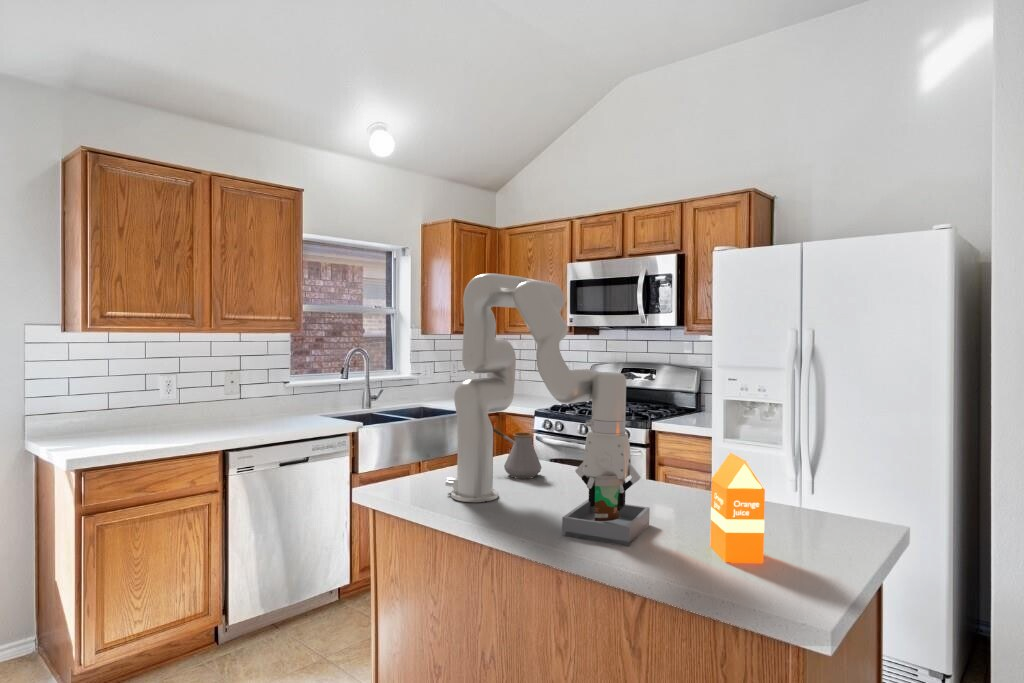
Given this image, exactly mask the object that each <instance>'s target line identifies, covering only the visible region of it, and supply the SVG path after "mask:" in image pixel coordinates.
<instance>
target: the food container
mask: <svg viewBox="0 0 1024 683" xmlns="http://www.w3.org/2000/svg"><path fill="white" fill-rule="evenodd" d="M625 481H626V480H625ZM625 481H624V480H621V481H619V480H618V479H617V476H595V516H594V521H612V520H616V519H617V518H618V516H619V511H618V510H617V505H618V494H619V493H620V492H619V488H620V485H621V484H624V483H625Z"/></svg>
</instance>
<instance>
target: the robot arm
mask: <svg viewBox="0 0 1024 683" xmlns="http://www.w3.org/2000/svg"><path fill="white" fill-rule="evenodd" d="M462 298H463V299H462V300H463V301H462V306H463V319H464V320H463V324H464V325H463V334H462V335H463V336H462V337H463V339H462V353H461V355H462V356H461V358H462V360H461V362H462V366H463V368H464V370H465V371H466V372H468V373H471V374H480V375H481V374H482V375H483V374H486V375H487V376H486V377H480V378H477V377H476V378H469V379H466V380H464V381H462V382H460V383H459V384H458V385H457V387H456V388H455V390H454V395H453V396H454V397H453V401H454V407H455V411H456V412H455V413H456V420H457V421H456V422H457V462H456V464H457V466H456V467H457V468H456V469H457V470H456V471H457V472H456V475H457V476H456V477H457V478H453V477H447V478H446V479H445V480H446V481H445V486H446V487H452V488H453V489H452V490H451V493H450V494H451V495H450V497H451V498H452V499H453V500H456V501H458V502H464V503H485V501H487V502H491V501H494V500H496V499H497V498H498V497H499V491H498V490H496V489H495V488H493V486H494V485H493V484H494V483H493V482H494V481H493V479H494V471H493V470H494V432H493V428H494V427H493V424H492V422H491V420H490V417H489V414H490V413H496V412H502V411H505V410H507V409H508V408H509V407H510V406H511V404H512V402H513V399H514V395H515V394H514V393H515V380H516V365H517V364H516V361H517V357H516V352H515V349H514V348H515V347H514V346H513V345H512V344H511V343H510V342H509V341H508V340H507V339H505V338H501V337H496V335H497V334H496V332H497V321H496V317H495V314H494V312H493V310H492V308H493V307H497V308H498V307H500V308H512V309H516V310H517V311H518V312H519V314H520V316H521V319H523V321H524V323H525V325H526V327H527V328H528V330H529V332H530V334H531V336H532V337H533V339H534V341H535V343H536V350H535V351H536V353H535V354H536V355H535V356H536V358H535V359H536V366H537V371H538V374H539V376H540V378H541V379H542V381H543V383H544V385H545V387H546V389H547V390H548V391H549V393H550V394H551V396H552V397H553V399H555V400H556V401H557V402H559V403H561V404H568V405H569V404H576V403H577V404H578V403H584V402H591V418H590V419H589V420H587V419H586V421H585V426H586V427H589V428H590V431H588V432H587V435H586V438H585V443H584V444H585V446H584V453H583V461H582V462H581V463H580V464H579V465H578V467H577V468H576V469H575V470H574V471H575V473H576V474H577V476H579V478H581V480H582V481H583V483H584V484H585V486H586V487H587V489H588V499H589V502H590V506H591V507H593V506H595V476H617V479H618V480H619V481H621V480H624V481H625V483H624V484H621V485H620V488H619V492H620V493H619V494H618V505H617V510H618V511H620V510H621V509H622V508H623V507H624V506H625V504H626V492H627V490H629V489H630V488H631V487H632V486H633V485H635V484H636V483H637V482H638V481H640V480H641V475H640V474H639V472H638V471H637V470H636V468H634V466H633V465H632V454H631V447H630V445H631V444H630V440H629V434H628V433H626V413H627V412H626V410H627V378H626V376H625V375H624V373H621V372H613V371H610V372H609V371H604V372H603V371H599V370H594V369H587V368H585V369H569V367H568V365H567V364H566V362H565V360H564V358H563V355H562V353H561V349H560V342H562V340H564V339H565V337H567V335H568V332H569V328H568V324H567V322H566V321H565V320H564V318H563V316H562V314H561V311H562V309H563V308H564V305H565V295H564V291H563V290H562V289H561V287H560V286H559V285H557V284H556V283H554V282H551V281H543V280H539V279H538V280H537V279H532V278H528V277H523V276H518V275H510V274H509V275H508V274H501V273H489V272H488V273H482V274H478V275H476V276H474V277H473V278H471V279H470V281H469V282H468V283H467V285H466V286H465V289H464V292H463V296H462ZM629 476H631V478H630V479H629V480H627V481H626V479H627V477H629Z"/></svg>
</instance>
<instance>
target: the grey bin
mask: <svg viewBox="0 0 1024 683" xmlns="http://www.w3.org/2000/svg"><path fill="white" fill-rule="evenodd" d="M650 511H651V510H650V507H648V506H643V505H642V506H641V505H633V504H627V503H625V506H624V507H623V508H622V509H621V510H620V511H619V516H618V518H617V519H616V520H612V521H594V516H595V506H593V507H591V506H590V502H589V498H587V499H586V500H585V501H584V502H582V503H581V504H579V505H578V506H576V507H575V508H574V509H572V510H570V511H569V512H568V513H566V514H565V515H563V516H562V521H561V522H562V523H561V524H562V525H561V536H563V537H570V538H576V539H583V540H588V541H593V542H600V543H605V544H611V545H618V546H625V547H631V545H632V544H633V543H634V542H635V541H636V539H638V538H639V537H640V536H641V534H642V533H643V532H644V531H645V530H646V529H647V528H648V527H649V526H648V525H650V516H651V515H650V514H651V513H650ZM647 526H648V527H647ZM646 527H647V528H646Z"/></svg>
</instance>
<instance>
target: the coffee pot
mask: <svg viewBox="0 0 1024 683" xmlns="http://www.w3.org/2000/svg"><path fill="white" fill-rule="evenodd" d="M493 433H495V434H497V435H498V436H500V437H501V438H504V439H505V440H506V441H508V442H510V443H512V447H511V449H510V451H509V454H508V457H507V459H506V461H505V463H504V470H505V472H506V473H507V474H508V475H509V477H511V476H512V477H511V478H513V477H516V478H515V479H518V478H529V479H532V478H531V477H534V476H535V477H536V475H538V474H539V473H540V472H541V470H542V464H541V462H540V460H539V458H538V455H537V453H536V452H537V451H536V449H535V447H534V444H533V442H532V440H533V437H534V434H533V433H531V432H516V433H512V436H513V438H514V440H513V439H512V438H510V437H509V436H507V435H505V434H504V433H503V432H501V431H500V430H499V429H497V428H495V427H493ZM535 477H534V478H535Z"/></svg>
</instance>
